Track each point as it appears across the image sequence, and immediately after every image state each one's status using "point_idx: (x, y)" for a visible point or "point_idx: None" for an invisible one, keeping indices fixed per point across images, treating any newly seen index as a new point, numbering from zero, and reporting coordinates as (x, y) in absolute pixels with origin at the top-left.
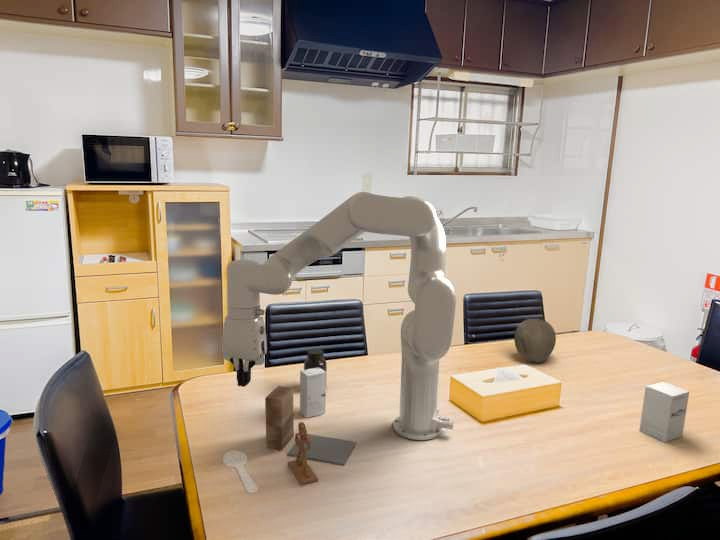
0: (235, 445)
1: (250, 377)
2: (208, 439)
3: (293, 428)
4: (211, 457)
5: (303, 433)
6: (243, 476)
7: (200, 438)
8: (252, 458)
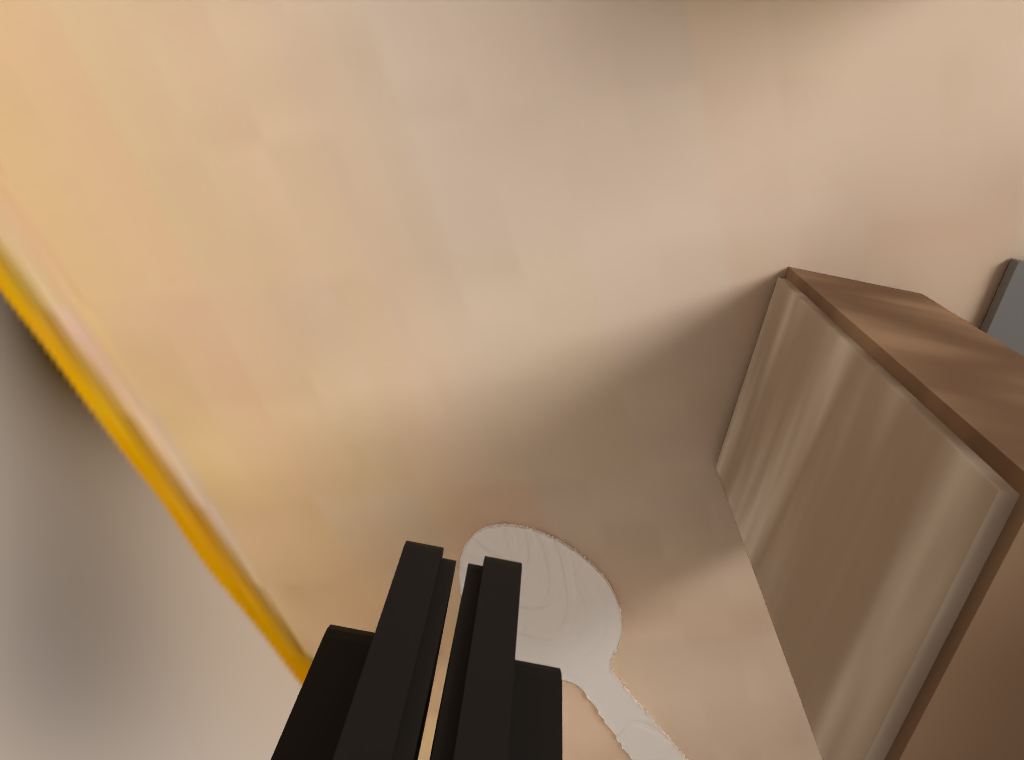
0: (487, 459)
1: (559, 723)
2: (264, 400)
3: (956, 316)
4: None
5: (1021, 267)
6: (642, 752)
7: (202, 392)
8: (648, 591)
